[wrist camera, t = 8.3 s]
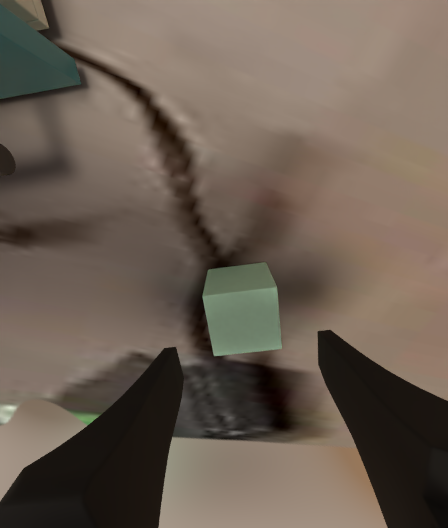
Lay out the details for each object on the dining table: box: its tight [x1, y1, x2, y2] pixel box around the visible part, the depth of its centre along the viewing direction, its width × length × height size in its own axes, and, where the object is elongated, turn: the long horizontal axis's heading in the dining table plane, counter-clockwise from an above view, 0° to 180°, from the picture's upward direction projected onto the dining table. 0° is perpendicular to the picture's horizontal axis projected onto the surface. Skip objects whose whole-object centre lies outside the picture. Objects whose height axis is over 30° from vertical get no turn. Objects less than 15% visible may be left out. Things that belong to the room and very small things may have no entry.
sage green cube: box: [202, 262, 282, 356], centre depth 17 cm, size 4×4×4 cm
